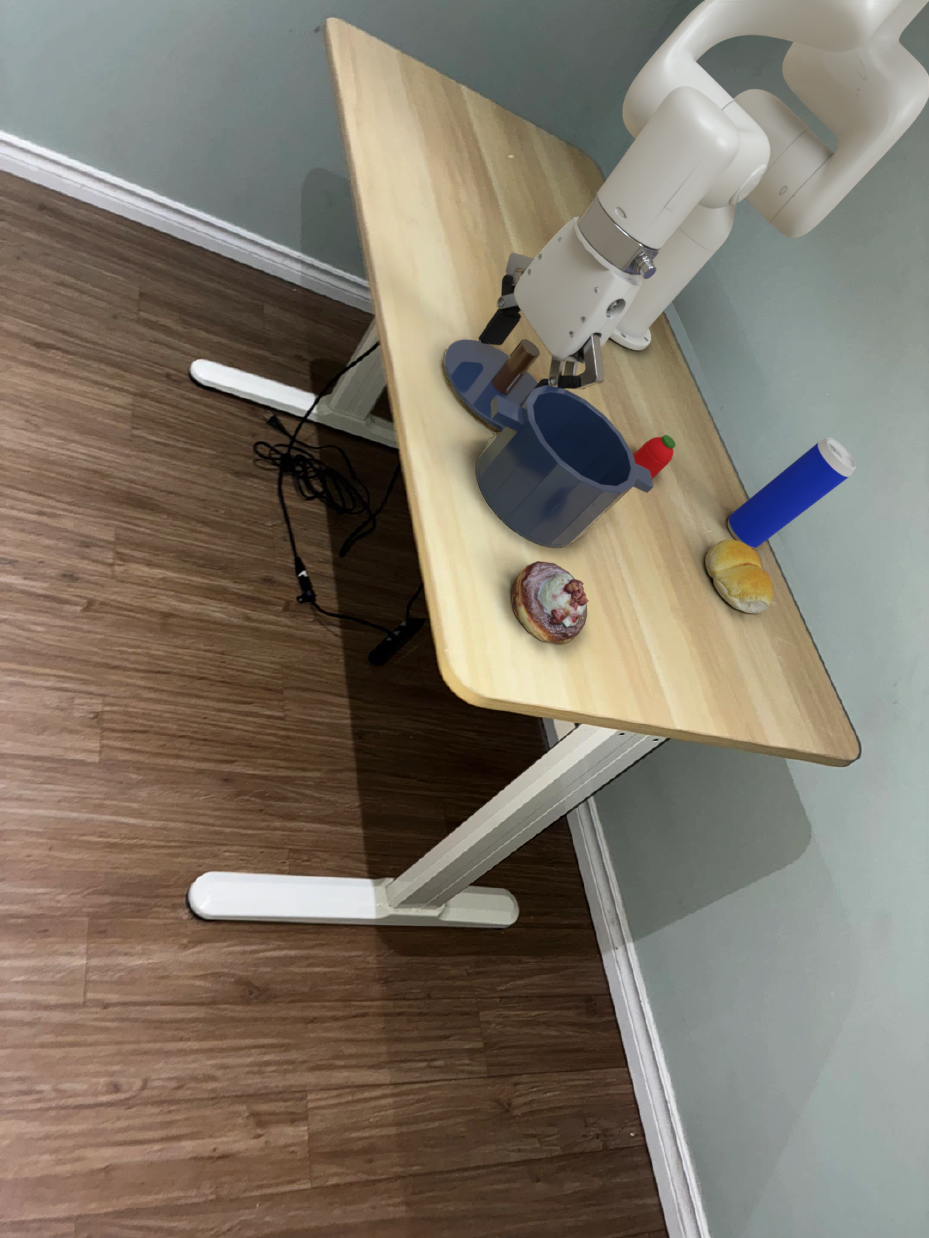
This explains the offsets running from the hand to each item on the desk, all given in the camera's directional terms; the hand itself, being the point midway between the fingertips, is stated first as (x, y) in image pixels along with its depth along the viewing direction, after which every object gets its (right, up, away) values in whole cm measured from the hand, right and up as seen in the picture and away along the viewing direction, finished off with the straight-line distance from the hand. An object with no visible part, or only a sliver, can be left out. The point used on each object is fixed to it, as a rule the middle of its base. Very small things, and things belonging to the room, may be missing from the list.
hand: (510, 375), depth 85 cm
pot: (+2, -14, -5) cm, 15 cm away
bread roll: (+25, -22, +7) cm, 34 cm away
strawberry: (+16, -8, +11) cm, 21 cm away
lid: (-1, -1, +1) cm, 2 cm away
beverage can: (+29, -15, +15) cm, 36 cm away
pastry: (+2, -25, -14) cm, 28 cm away
